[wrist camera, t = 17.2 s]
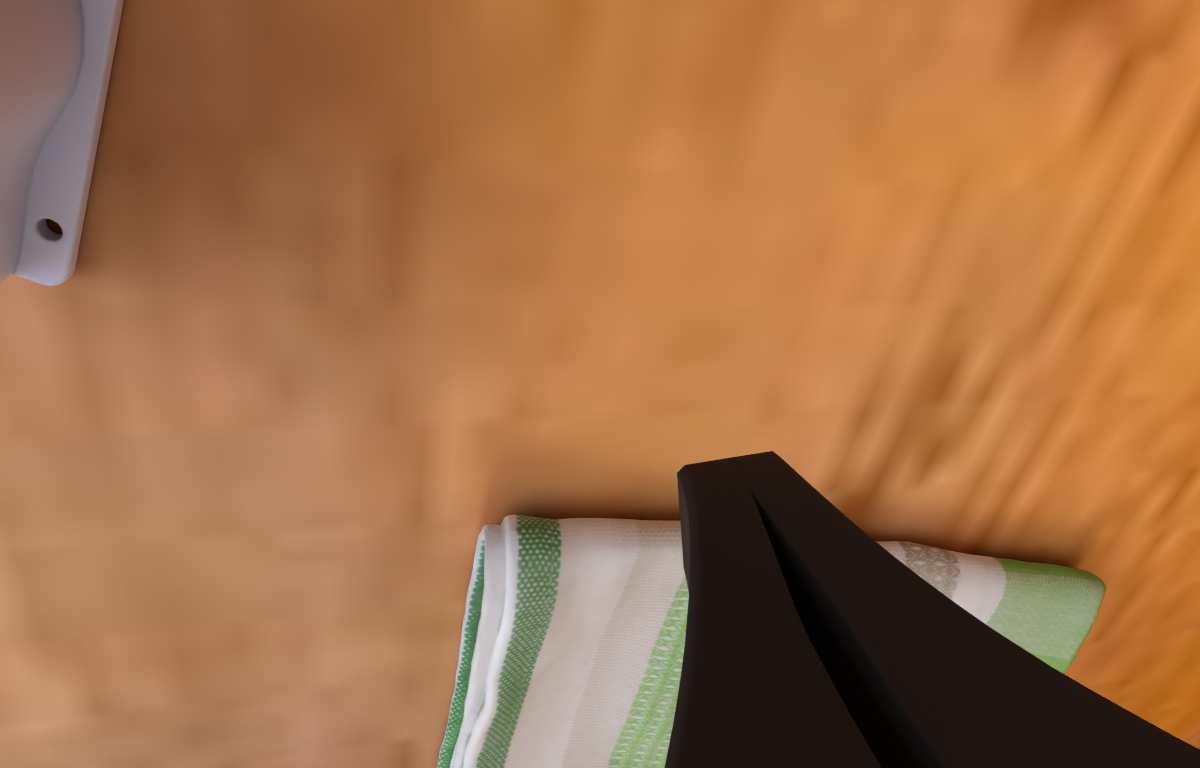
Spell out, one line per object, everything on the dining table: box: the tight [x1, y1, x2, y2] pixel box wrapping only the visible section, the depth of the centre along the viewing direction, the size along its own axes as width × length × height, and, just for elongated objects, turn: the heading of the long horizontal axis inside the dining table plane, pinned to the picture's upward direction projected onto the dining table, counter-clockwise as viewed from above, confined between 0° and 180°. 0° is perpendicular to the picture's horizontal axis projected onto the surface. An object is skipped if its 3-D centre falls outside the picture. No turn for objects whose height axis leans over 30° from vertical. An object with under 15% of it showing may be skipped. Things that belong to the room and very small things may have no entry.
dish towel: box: [437, 514, 1106, 768], centre depth 27 cm, size 17×23×4 cm
